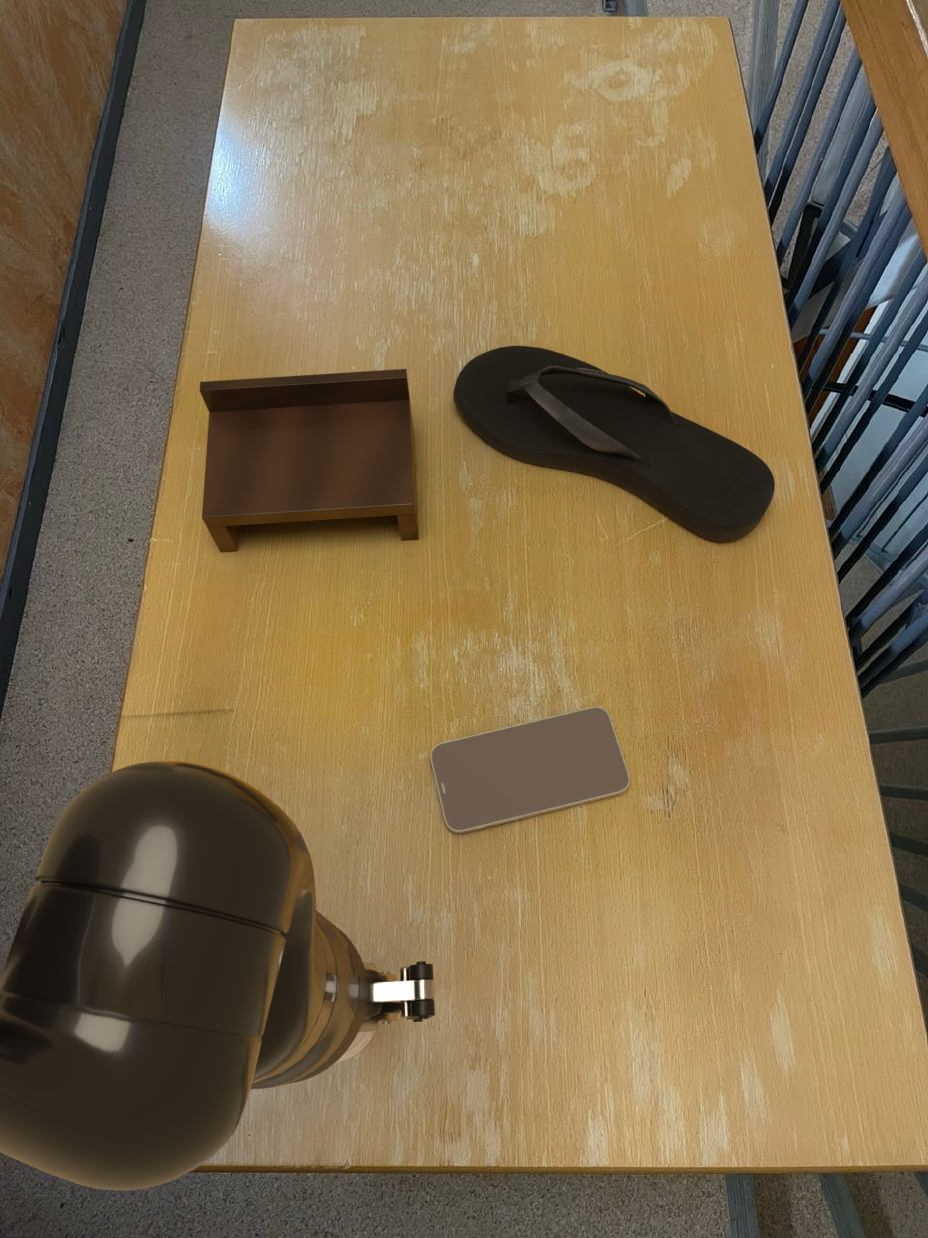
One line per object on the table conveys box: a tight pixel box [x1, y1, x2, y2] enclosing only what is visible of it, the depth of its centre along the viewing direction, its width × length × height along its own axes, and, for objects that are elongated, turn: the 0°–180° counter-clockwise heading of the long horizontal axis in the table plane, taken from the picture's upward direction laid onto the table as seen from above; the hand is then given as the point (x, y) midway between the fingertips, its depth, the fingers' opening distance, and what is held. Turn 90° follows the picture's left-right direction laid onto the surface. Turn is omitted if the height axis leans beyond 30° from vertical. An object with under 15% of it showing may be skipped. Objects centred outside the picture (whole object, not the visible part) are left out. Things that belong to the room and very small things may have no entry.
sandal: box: [452, 345, 776, 543], centre depth 84 cm, size 13×31×7 cm, turn 65°
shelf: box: [199, 368, 420, 553], centre depth 81 cm, size 18×12×9 cm, turn 93°
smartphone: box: [429, 706, 631, 835], centre depth 73 cm, size 7×1×15 cm
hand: (327, 1005), depth 55 cm, fingers closed on smoothie, 6 cm apart
